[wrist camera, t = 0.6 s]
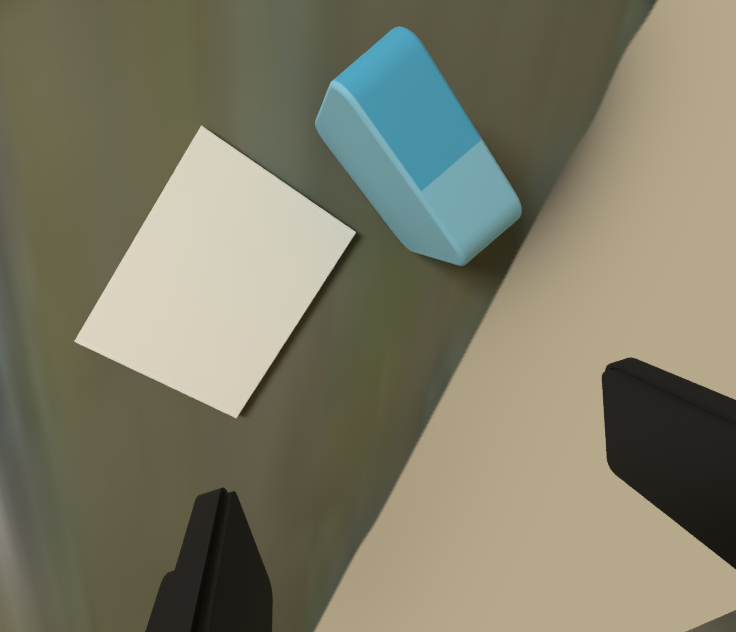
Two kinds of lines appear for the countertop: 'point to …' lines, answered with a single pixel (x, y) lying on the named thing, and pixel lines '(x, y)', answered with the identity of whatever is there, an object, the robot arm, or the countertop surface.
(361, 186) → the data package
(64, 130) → the countertop surface
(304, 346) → the countertop surface
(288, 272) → the mat
